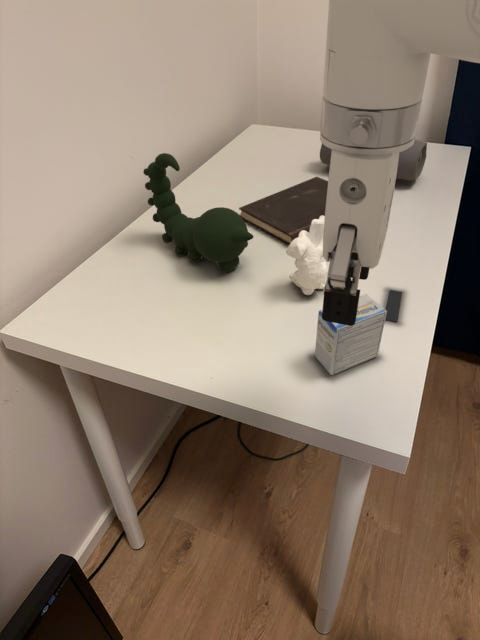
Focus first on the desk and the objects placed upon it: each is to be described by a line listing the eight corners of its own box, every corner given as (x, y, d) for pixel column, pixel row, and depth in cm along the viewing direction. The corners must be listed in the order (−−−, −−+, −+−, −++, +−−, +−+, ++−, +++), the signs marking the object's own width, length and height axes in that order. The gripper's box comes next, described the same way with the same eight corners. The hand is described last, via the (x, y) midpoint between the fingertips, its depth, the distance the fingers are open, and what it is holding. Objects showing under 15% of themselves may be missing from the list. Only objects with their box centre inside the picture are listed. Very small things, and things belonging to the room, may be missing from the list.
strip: (402, 292, 80) (402, 291, 79) (397, 322, 74) (397, 321, 74) (389, 290, 80) (390, 289, 80) (383, 320, 74) (383, 319, 74)
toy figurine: (147, 253, 95) (238, 293, 80) (124, 157, 84) (224, 182, 69) (183, 235, 100) (275, 269, 85) (166, 142, 89) (267, 162, 74)
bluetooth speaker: (422, 177, 114) (431, 134, 108) (410, 192, 108) (419, 147, 102) (332, 160, 124) (336, 120, 118) (317, 173, 118) (320, 132, 112)
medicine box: (359, 339, 71) (366, 291, 66) (378, 358, 68) (388, 309, 63) (313, 357, 69) (317, 309, 63) (331, 377, 66) (337, 328, 60)
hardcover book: (239, 217, 102) (238, 207, 100) (316, 185, 113) (316, 176, 111) (291, 246, 92) (292, 236, 91) (370, 208, 103) (372, 198, 101)
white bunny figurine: (306, 269, 86) (309, 207, 78) (339, 282, 82) (346, 219, 75) (277, 292, 81) (278, 228, 73) (311, 307, 78) (316, 241, 70)
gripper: (407, 166, 31) (370, 362, 43) (424, 93, 44) (392, 259, 55) (294, 156, 34) (288, 344, 45) (342, 89, 46) (327, 250, 57)
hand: (346, 296), depth 50 cm, fingers open, 7 cm apart
